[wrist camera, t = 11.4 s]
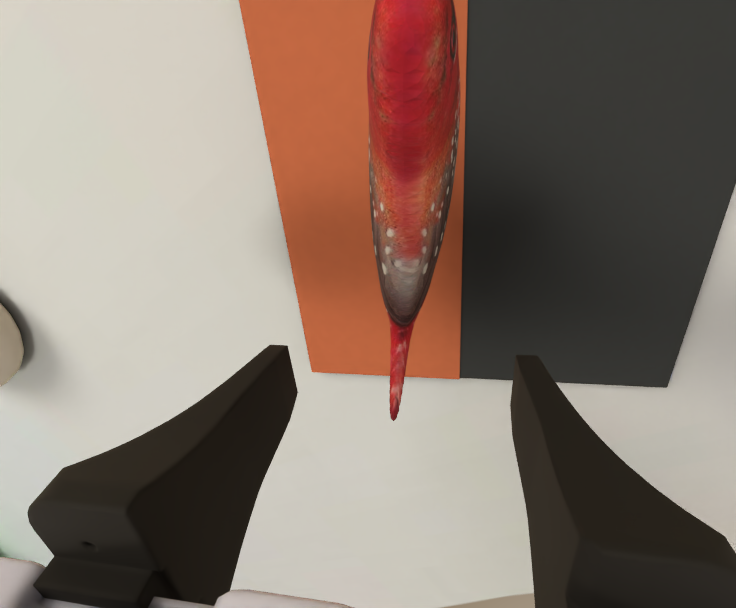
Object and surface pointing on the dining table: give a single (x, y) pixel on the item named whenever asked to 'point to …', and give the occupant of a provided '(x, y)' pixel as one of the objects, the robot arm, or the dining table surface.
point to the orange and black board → (514, 183)
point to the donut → (9, 347)
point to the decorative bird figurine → (410, 155)
